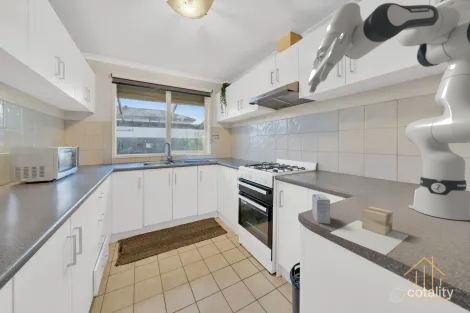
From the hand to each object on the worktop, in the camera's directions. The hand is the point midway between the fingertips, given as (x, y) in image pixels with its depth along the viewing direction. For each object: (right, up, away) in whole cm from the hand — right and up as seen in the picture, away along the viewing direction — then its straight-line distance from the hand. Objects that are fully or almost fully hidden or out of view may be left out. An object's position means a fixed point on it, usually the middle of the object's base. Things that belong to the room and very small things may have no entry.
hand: (316, 86), depth 63 cm
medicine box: (+3, -48, +4) cm, 49 cm away
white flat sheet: (+12, -48, -8) cm, 51 cm away
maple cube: (+17, -48, -5) cm, 51 cm away
